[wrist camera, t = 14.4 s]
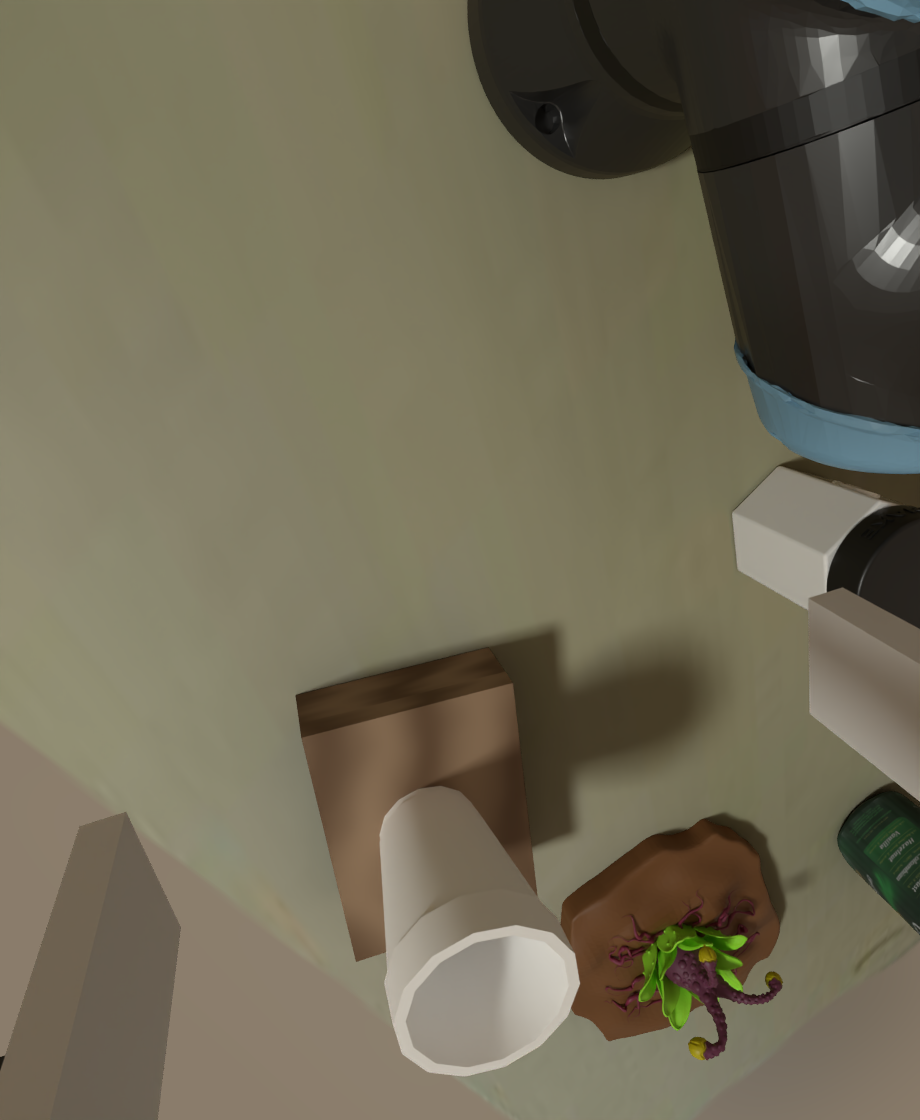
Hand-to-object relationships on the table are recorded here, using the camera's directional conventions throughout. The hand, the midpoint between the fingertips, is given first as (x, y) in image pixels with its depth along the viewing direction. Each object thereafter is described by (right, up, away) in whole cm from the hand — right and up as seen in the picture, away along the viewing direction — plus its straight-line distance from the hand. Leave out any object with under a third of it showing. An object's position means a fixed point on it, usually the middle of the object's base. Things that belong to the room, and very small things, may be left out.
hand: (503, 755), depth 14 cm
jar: (+22, +6, +40) cm, 46 cm away
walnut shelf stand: (-4, -12, +39) cm, 41 cm away
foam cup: (-3, -13, +34) cm, 37 cm away
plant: (+16, -28, +51) cm, 60 cm away
